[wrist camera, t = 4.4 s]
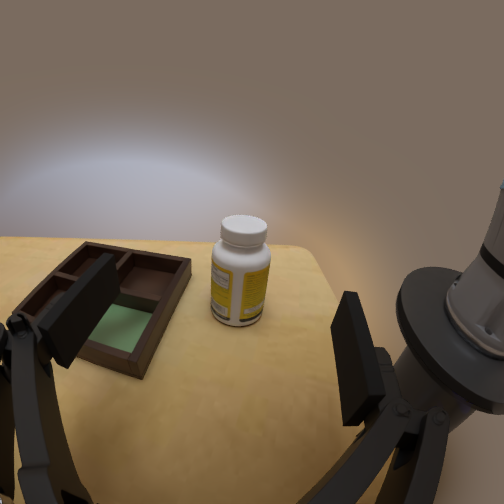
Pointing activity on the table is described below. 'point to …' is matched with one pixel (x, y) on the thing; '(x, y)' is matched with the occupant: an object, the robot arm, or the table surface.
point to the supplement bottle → (240, 270)
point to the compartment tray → (121, 303)
